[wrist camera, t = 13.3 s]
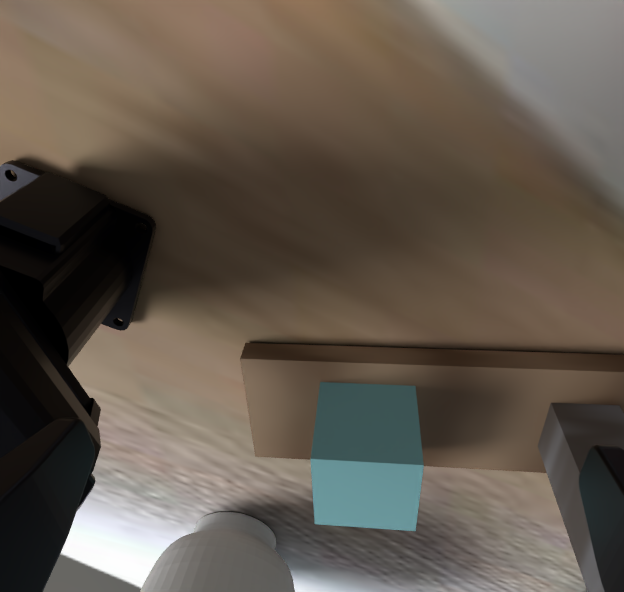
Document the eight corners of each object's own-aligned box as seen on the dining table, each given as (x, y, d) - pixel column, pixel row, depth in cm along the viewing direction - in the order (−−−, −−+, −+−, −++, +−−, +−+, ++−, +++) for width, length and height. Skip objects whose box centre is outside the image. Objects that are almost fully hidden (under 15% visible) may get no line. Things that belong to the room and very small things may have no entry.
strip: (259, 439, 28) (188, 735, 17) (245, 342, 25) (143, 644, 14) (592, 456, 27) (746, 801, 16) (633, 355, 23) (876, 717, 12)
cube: (322, 445, 26) (314, 524, 23) (320, 382, 24) (310, 459, 20) (409, 449, 26) (415, 531, 22) (415, 385, 23) (423, 465, 20)
